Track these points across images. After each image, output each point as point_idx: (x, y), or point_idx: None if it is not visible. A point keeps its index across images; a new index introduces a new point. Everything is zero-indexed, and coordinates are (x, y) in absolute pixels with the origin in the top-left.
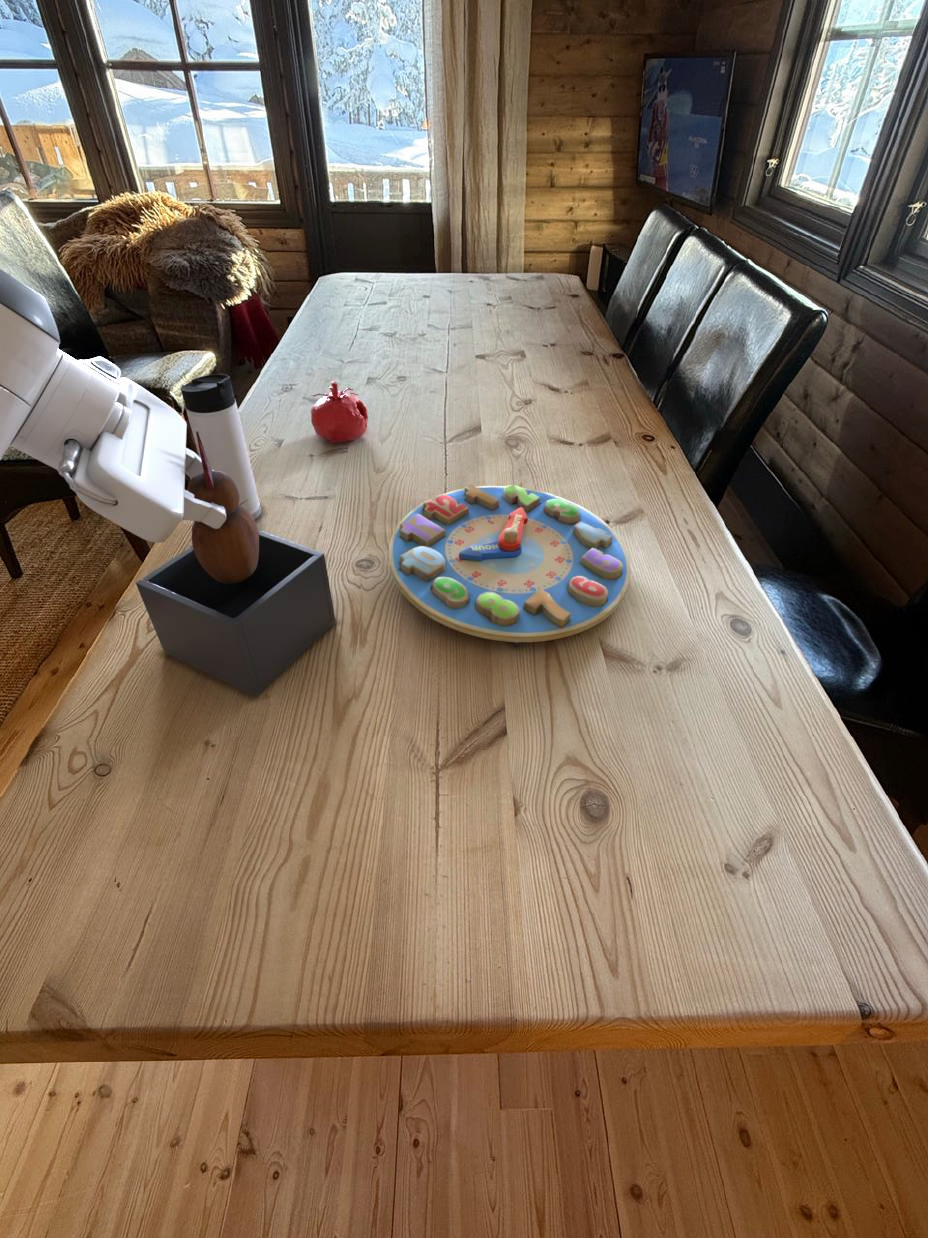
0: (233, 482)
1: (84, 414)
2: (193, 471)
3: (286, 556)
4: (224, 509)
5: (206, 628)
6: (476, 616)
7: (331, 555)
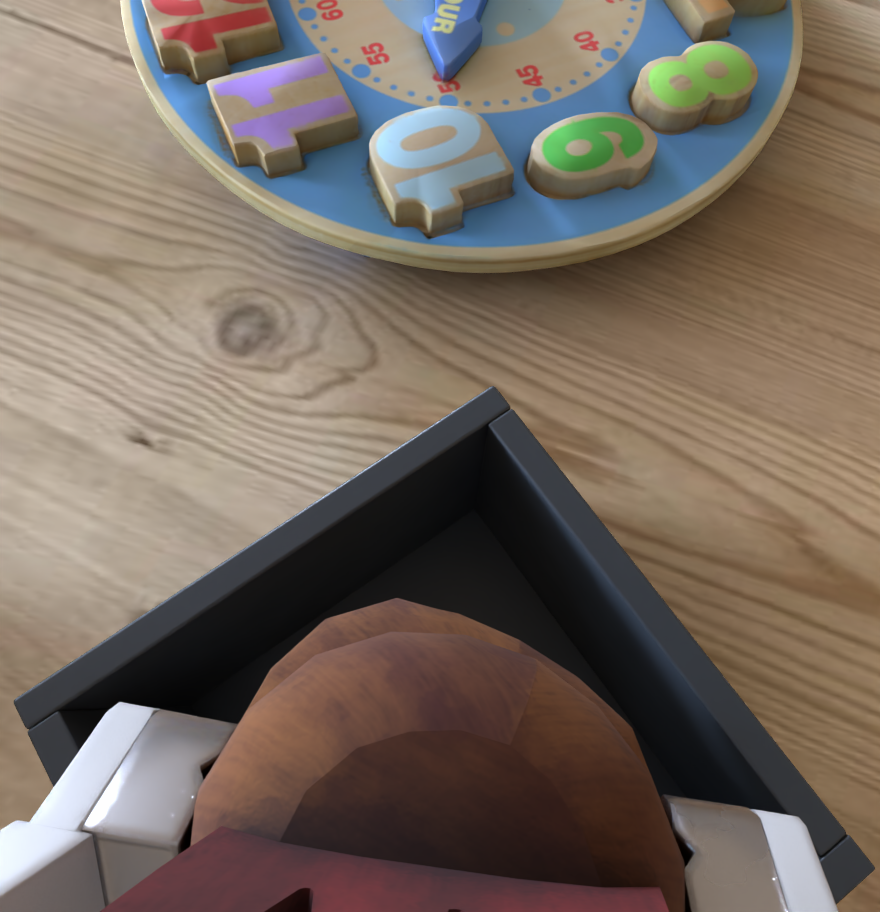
0: (485, 653)
1: None
2: None
3: (354, 531)
4: (713, 812)
5: None
6: (696, 142)
7: (145, 405)
